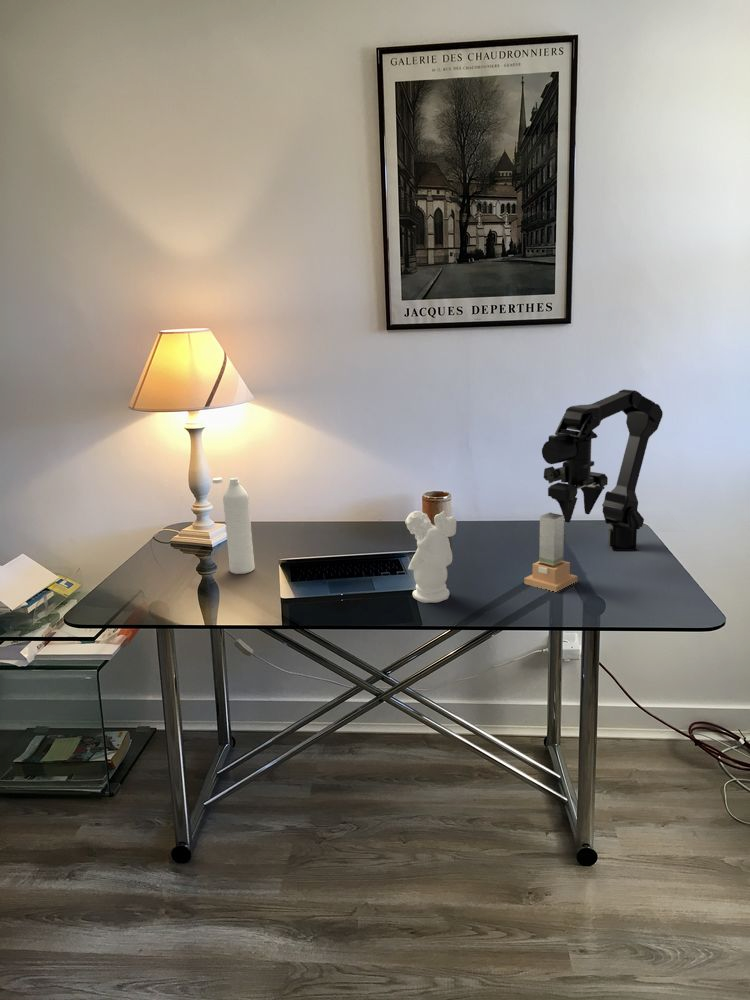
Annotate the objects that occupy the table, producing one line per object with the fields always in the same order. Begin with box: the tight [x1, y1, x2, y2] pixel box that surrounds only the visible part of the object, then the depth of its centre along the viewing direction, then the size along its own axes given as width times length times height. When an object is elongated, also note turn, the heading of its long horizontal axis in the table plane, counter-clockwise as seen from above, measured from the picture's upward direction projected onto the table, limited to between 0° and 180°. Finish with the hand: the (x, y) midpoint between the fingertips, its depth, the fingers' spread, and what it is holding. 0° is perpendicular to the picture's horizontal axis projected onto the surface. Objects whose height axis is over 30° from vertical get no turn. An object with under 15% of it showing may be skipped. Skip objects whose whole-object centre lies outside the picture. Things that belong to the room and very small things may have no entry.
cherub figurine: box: [405, 510, 457, 604], centre depth 184 cm, size 12×12×22 cm
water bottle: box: [212, 477, 256, 575], centre depth 206 cm, size 9×6×25 cm
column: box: [538, 512, 565, 566], centre depth 188 cm, size 4×4×11 cm
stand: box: [523, 560, 579, 593], centre depth 190 cm, size 9×9×5 cm
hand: (577, 518), depth 200 cm, fingers open, 9 cm apart
